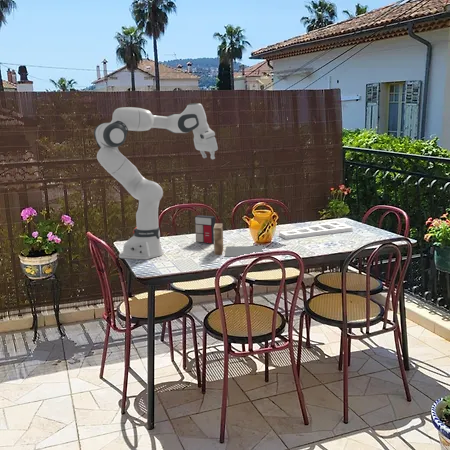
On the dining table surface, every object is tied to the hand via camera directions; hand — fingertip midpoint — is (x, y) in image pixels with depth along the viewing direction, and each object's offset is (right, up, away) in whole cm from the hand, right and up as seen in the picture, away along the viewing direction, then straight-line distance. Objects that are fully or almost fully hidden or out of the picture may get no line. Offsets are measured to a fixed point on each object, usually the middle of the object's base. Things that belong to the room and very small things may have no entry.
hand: (209, 158), depth 253 cm
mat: (+19, -49, -7) cm, 54 cm away
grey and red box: (-3, -46, +13) cm, 48 cm away
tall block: (+5, -50, -6) cm, 50 cm away
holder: (+61, -40, +31) cm, 80 cm away
